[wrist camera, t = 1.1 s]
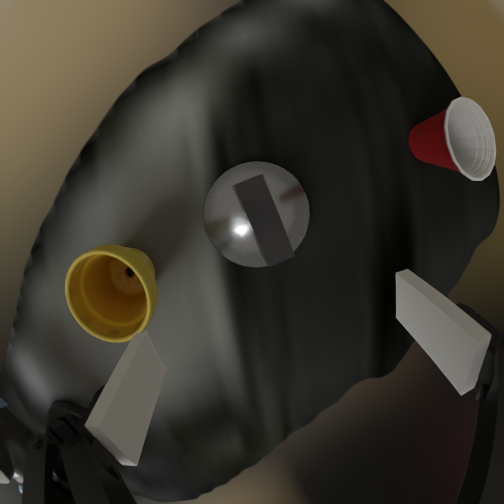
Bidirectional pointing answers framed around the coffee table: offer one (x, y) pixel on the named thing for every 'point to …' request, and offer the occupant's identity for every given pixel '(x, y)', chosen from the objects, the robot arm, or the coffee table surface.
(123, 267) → the plant pot
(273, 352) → the coffee table surface
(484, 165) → the plastic cup
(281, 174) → the steel lid
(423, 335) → the robot arm
